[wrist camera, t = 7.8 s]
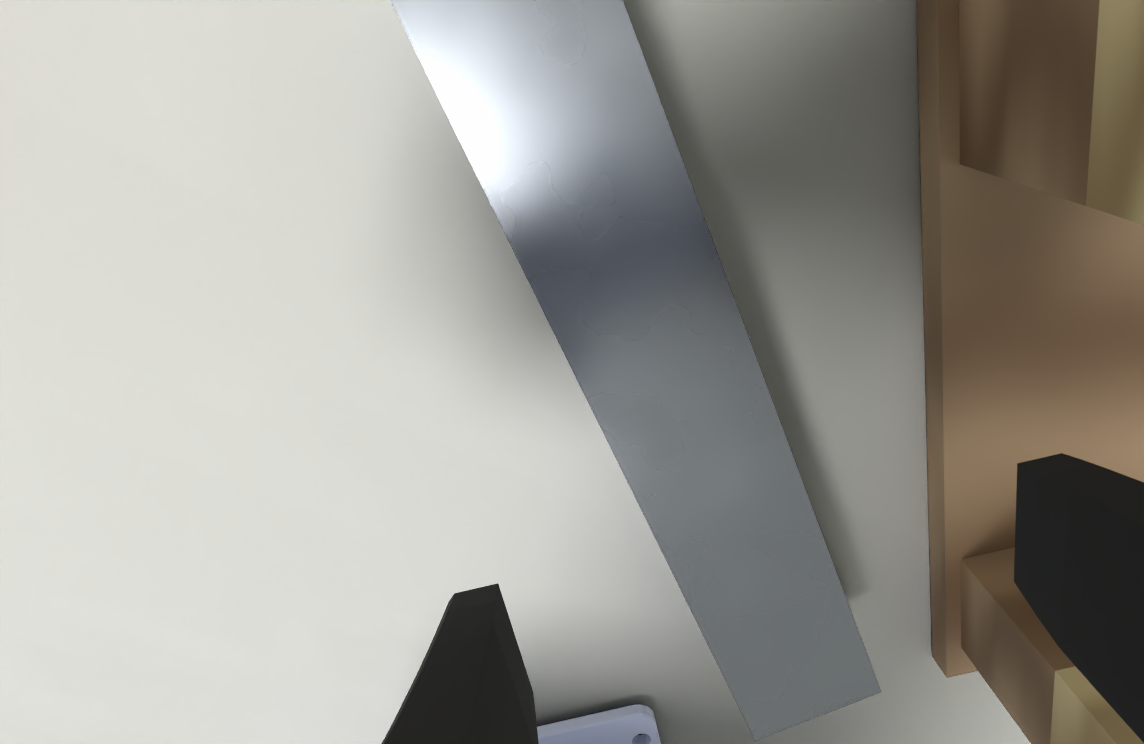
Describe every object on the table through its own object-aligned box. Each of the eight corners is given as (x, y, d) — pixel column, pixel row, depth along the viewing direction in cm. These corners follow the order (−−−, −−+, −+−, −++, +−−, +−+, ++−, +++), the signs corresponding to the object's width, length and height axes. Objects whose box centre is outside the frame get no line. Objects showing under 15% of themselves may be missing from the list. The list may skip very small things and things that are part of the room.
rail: (829, 600, 22) (881, 691, 19) (721, 644, 22) (755, 740, 19) (558, -99, 14) (575, -127, 11) (400, -19, 15) (377, -27, 12)
